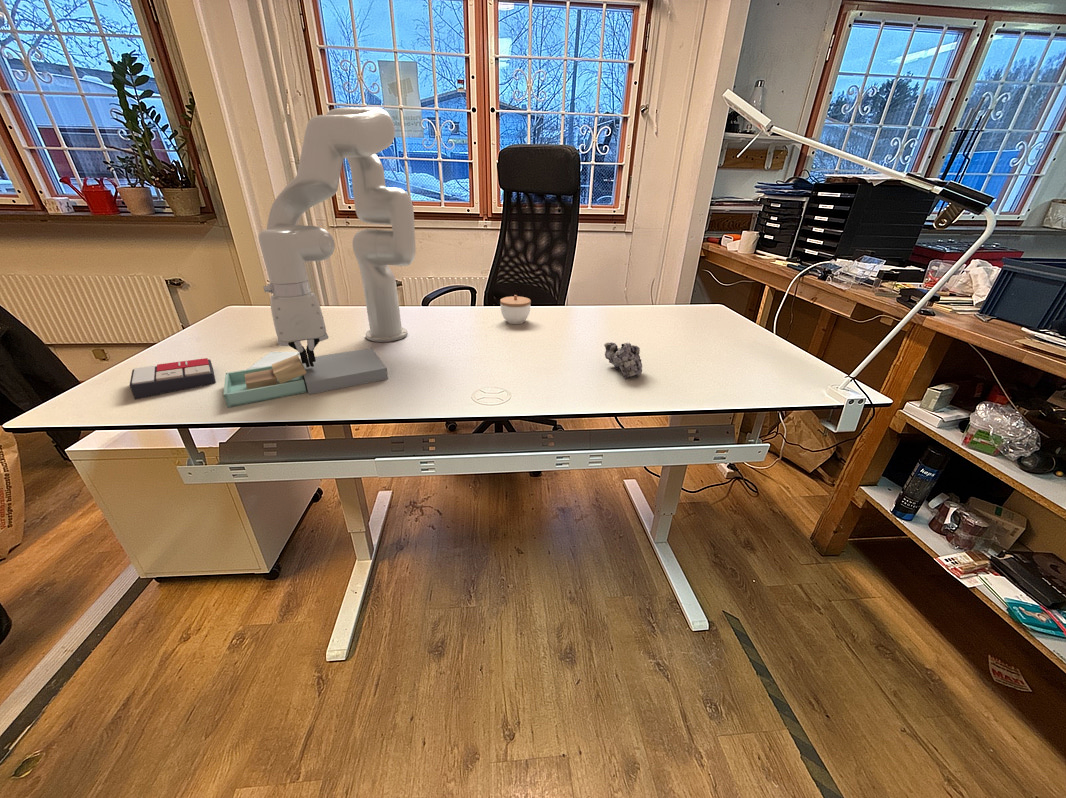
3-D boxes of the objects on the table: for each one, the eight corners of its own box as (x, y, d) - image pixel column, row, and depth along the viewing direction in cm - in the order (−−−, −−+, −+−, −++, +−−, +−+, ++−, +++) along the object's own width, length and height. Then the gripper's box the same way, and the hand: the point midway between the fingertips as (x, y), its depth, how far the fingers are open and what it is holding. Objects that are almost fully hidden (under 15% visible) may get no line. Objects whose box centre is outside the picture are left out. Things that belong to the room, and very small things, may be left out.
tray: (229, 384, 101) (225, 373, 99) (301, 372, 108) (298, 361, 107) (227, 407, 91) (223, 395, 89) (306, 392, 98) (303, 380, 97)
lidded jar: (499, 317, 155) (499, 291, 151) (528, 316, 156) (529, 291, 152) (501, 326, 146) (500, 299, 141) (531, 325, 147) (532, 299, 142)
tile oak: (278, 375, 102) (271, 364, 100) (303, 364, 104) (297, 354, 103) (280, 384, 98) (273, 373, 96) (306, 373, 100) (300, 362, 98)
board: (301, 370, 109) (299, 359, 108) (373, 357, 118) (371, 347, 116) (308, 394, 97) (305, 382, 96) (388, 378, 106) (386, 367, 104)
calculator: (212, 370, 100) (127, 382, 91) (217, 387, 102) (134, 400, 93) (209, 356, 108) (131, 366, 99) (214, 371, 109) (137, 382, 101)
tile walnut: (248, 385, 99) (244, 374, 98) (277, 380, 102) (274, 368, 101) (249, 395, 95) (245, 383, 94) (279, 389, 98) (276, 377, 97)
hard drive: (269, 351, 117) (244, 368, 106) (299, 351, 118) (278, 368, 107) (270, 357, 118) (246, 374, 107) (301, 357, 119) (280, 374, 108)
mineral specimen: (599, 348, 117) (618, 326, 110) (628, 358, 120) (649, 336, 112) (600, 383, 110) (620, 362, 103) (631, 393, 113) (653, 372, 105)
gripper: (252, 296, 87) (275, 377, 96) (330, 289, 94) (345, 364, 103) (251, 289, 93) (273, 365, 101) (325, 282, 100) (339, 354, 109)
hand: (309, 365), depth 102 cm, fingers closed
